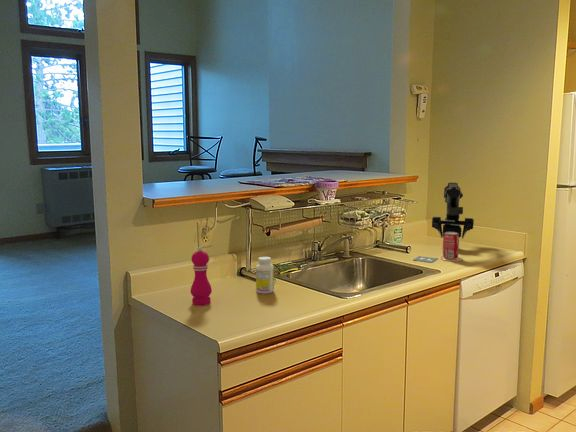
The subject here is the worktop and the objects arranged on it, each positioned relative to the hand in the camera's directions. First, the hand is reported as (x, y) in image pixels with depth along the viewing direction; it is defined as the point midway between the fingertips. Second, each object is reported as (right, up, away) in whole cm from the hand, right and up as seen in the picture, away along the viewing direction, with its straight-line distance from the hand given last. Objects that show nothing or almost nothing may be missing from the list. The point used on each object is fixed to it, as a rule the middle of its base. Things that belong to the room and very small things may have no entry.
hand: (452, 237), depth 254 cm
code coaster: (-13, -10, 0) cm, 16 cm away
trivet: (0, -10, 0) cm, 10 cm away
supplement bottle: (-85, -18, -50) cm, 100 cm away
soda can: (-1, -10, 0) cm, 10 cm away
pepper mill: (-106, -20, -63) cm, 125 cm away
